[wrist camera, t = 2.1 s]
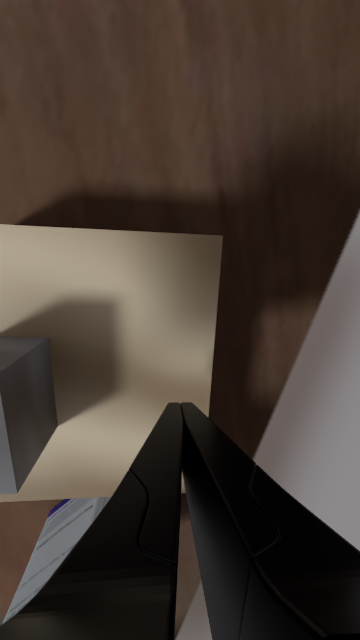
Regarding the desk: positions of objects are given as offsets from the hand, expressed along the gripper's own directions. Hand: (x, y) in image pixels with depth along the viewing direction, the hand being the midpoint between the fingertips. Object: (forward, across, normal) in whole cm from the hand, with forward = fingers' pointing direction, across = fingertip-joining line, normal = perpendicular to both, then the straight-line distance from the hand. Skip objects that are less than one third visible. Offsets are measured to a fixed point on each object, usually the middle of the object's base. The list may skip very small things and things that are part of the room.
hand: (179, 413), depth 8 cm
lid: (+3, +4, 0) cm, 4 cm away
